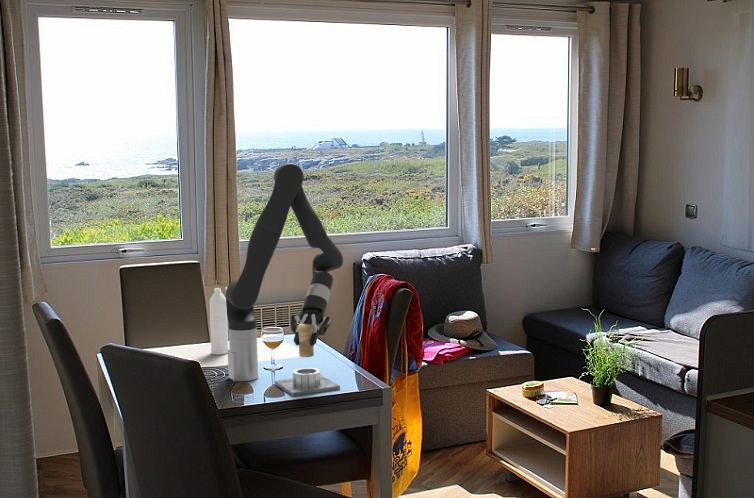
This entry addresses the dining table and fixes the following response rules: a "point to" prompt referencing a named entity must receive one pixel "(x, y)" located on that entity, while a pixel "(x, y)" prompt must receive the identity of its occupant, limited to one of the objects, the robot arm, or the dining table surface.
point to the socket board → (306, 382)
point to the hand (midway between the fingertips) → (303, 344)
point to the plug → (305, 340)
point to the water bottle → (218, 323)
